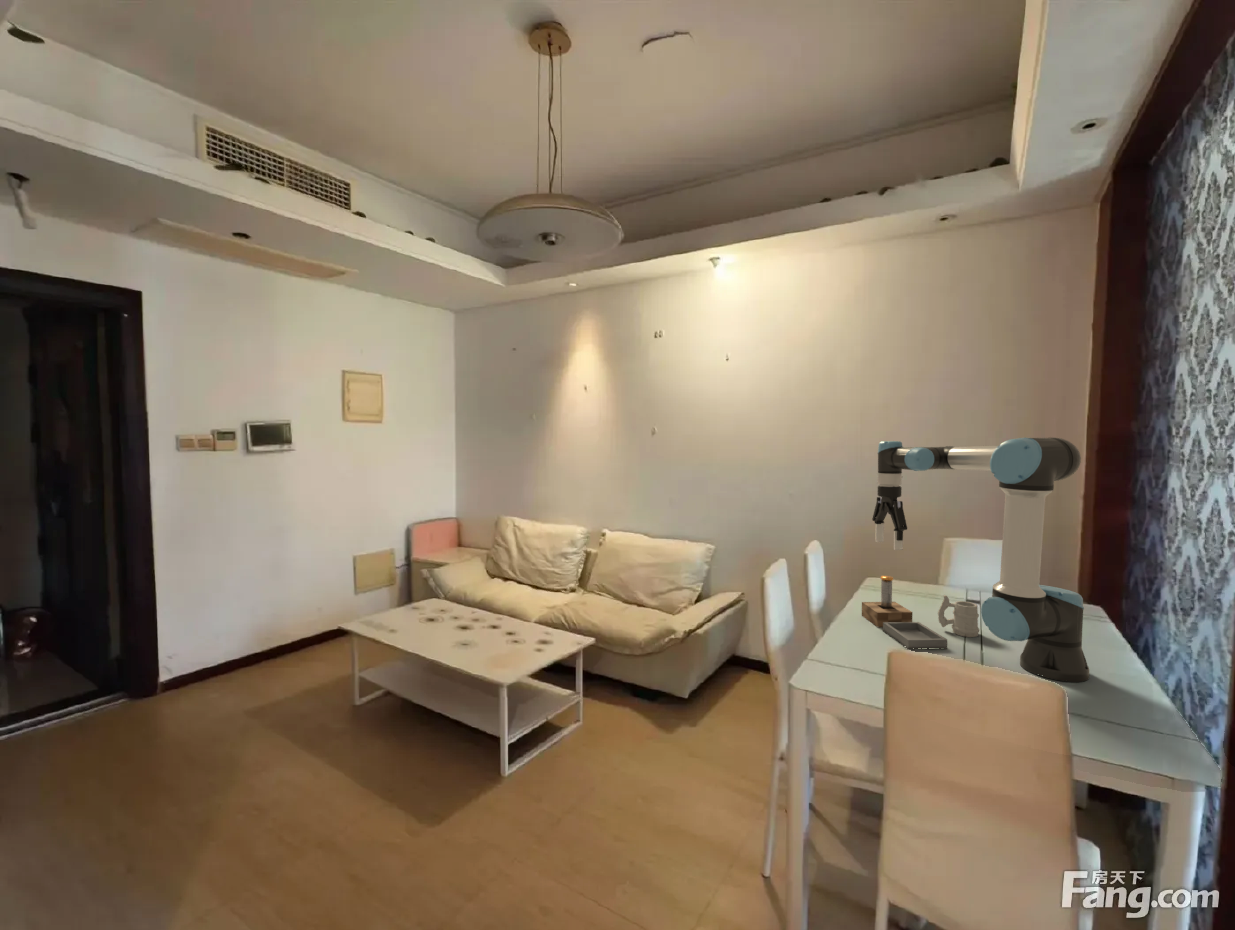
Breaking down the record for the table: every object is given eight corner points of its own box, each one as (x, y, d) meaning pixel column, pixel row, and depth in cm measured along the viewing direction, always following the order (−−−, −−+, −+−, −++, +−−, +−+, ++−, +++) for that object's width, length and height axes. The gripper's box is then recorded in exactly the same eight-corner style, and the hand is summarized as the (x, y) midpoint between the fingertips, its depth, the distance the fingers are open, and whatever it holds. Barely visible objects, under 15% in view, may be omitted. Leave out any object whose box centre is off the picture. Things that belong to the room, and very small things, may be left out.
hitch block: (912, 626, 190) (912, 612, 190) (877, 627, 190) (877, 612, 190) (894, 615, 202) (894, 601, 202) (861, 615, 202) (861, 602, 202)
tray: (947, 649, 170) (947, 639, 170) (908, 649, 170) (908, 640, 170) (918, 630, 186) (918, 621, 186) (882, 631, 186) (883, 622, 186)
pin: (894, 622, 194) (895, 578, 193) (883, 622, 194) (883, 578, 193) (889, 619, 198) (889, 575, 197) (877, 619, 198) (878, 575, 197)
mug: (980, 639, 178) (981, 602, 177) (937, 633, 184) (938, 597, 183) (977, 631, 185) (978, 596, 184) (936, 626, 190) (937, 591, 190)
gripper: (919, 488, 181) (918, 553, 182) (883, 482, 206) (882, 538, 207) (896, 489, 181) (895, 553, 183) (863, 482, 206) (862, 539, 207)
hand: (888, 545), depth 195 cm, fingers open, 13 cm apart
